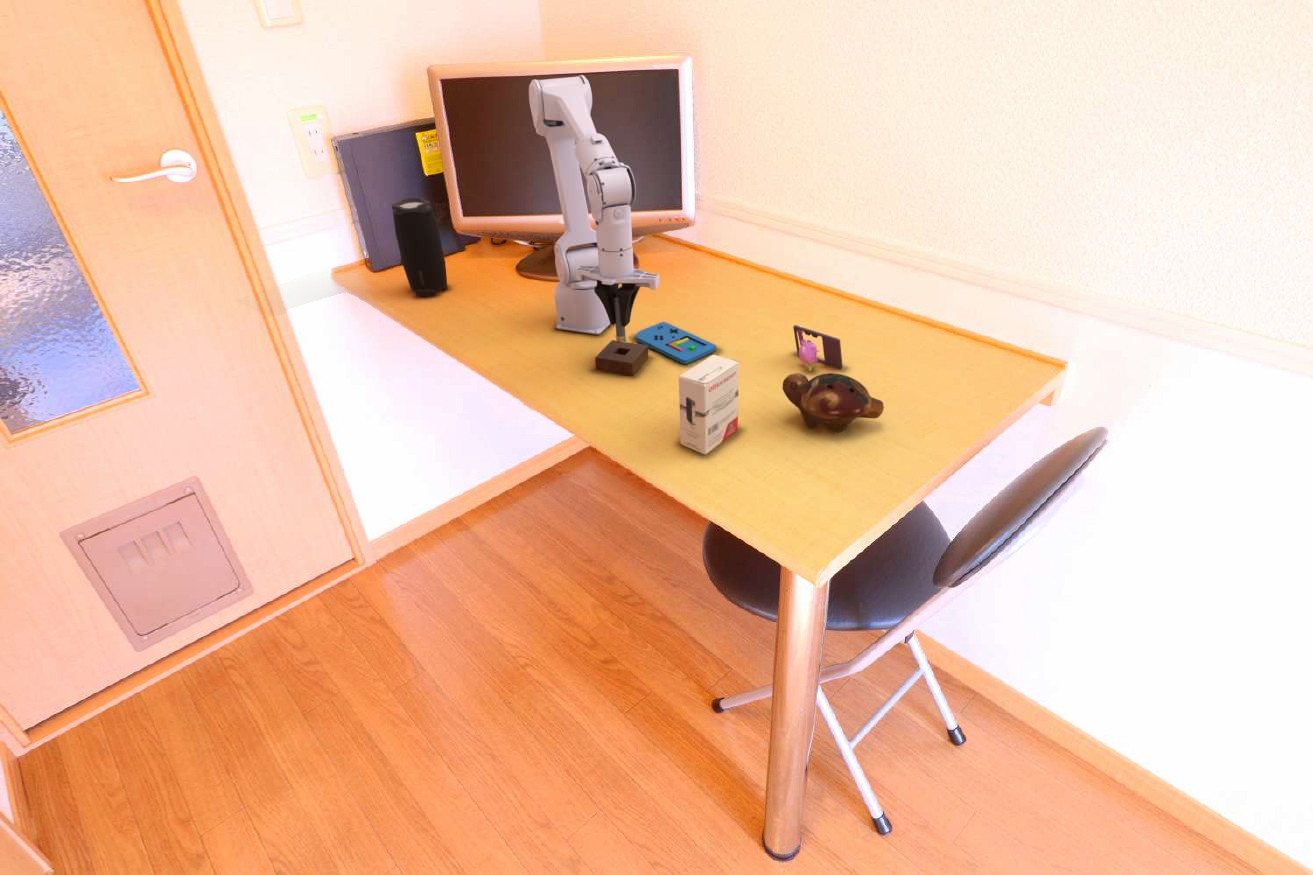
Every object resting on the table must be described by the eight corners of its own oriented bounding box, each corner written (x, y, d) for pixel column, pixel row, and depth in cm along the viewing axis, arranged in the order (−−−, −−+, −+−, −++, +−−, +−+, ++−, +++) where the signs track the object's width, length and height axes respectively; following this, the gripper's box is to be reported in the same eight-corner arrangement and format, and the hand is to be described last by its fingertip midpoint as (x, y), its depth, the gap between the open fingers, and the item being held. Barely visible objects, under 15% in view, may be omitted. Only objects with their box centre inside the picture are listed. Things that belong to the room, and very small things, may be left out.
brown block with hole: (596, 370, 126) (595, 357, 125) (612, 352, 132) (612, 339, 130) (633, 376, 124) (632, 363, 122) (648, 358, 129) (648, 345, 128)
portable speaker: (423, 281, 164) (404, 195, 153) (458, 286, 161) (441, 197, 150) (400, 295, 157) (379, 206, 146) (437, 300, 154) (417, 209, 144)
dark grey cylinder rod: (615, 342, 125) (611, 294, 120) (618, 338, 126) (615, 290, 121) (623, 343, 124) (620, 295, 119) (627, 339, 125) (624, 291, 120)
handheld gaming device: (663, 319, 140) (718, 344, 130) (663, 325, 140) (718, 349, 131) (630, 333, 135) (684, 359, 126) (631, 338, 136) (685, 365, 126)
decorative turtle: (776, 404, 115) (783, 359, 110) (871, 412, 114) (882, 367, 109) (779, 435, 106) (786, 387, 102) (882, 444, 105) (894, 396, 101)
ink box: (712, 419, 112) (713, 351, 105) (738, 430, 109) (741, 361, 102) (678, 444, 106) (677, 374, 100) (705, 456, 104) (705, 385, 97)
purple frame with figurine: (842, 336, 119) (796, 322, 124) (825, 356, 117) (779, 341, 122) (845, 365, 124) (800, 350, 129) (829, 384, 122) (784, 368, 127)
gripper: (563, 249, 115) (571, 327, 122) (646, 258, 110) (650, 338, 118) (583, 236, 120) (590, 310, 128) (663, 244, 116) (665, 321, 123)
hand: (620, 323), depth 123 cm, fingers closed on dark grey cylinder rod, 1 cm apart
